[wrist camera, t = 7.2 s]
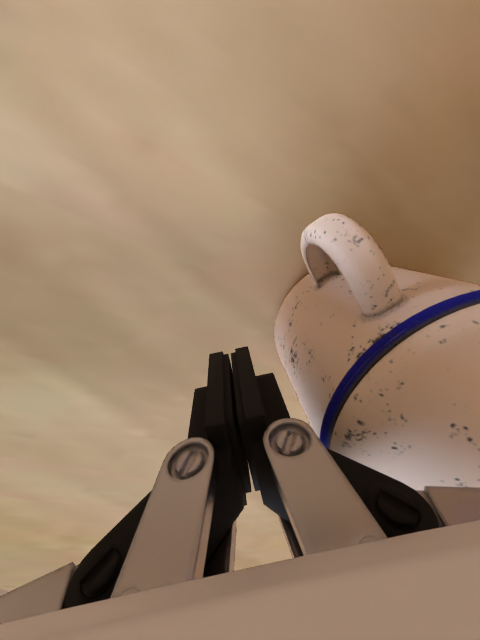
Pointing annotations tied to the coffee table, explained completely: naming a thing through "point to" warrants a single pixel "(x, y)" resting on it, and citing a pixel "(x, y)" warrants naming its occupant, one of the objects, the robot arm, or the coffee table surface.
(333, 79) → the coffee table surface
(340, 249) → the teacup with lid
